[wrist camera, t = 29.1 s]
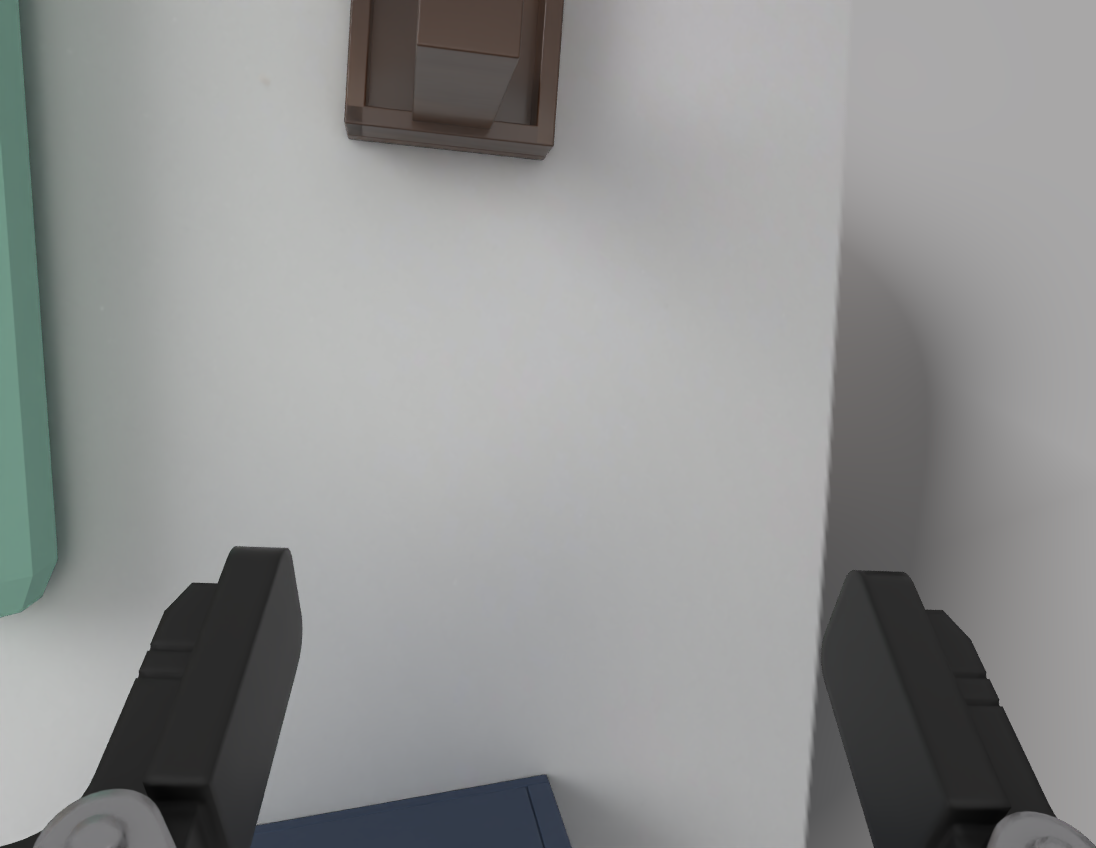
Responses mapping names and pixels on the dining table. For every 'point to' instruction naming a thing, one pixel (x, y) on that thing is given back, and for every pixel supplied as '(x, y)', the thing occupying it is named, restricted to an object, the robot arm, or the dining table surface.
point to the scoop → (455, 74)
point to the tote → (434, 821)
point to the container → (20, 354)
